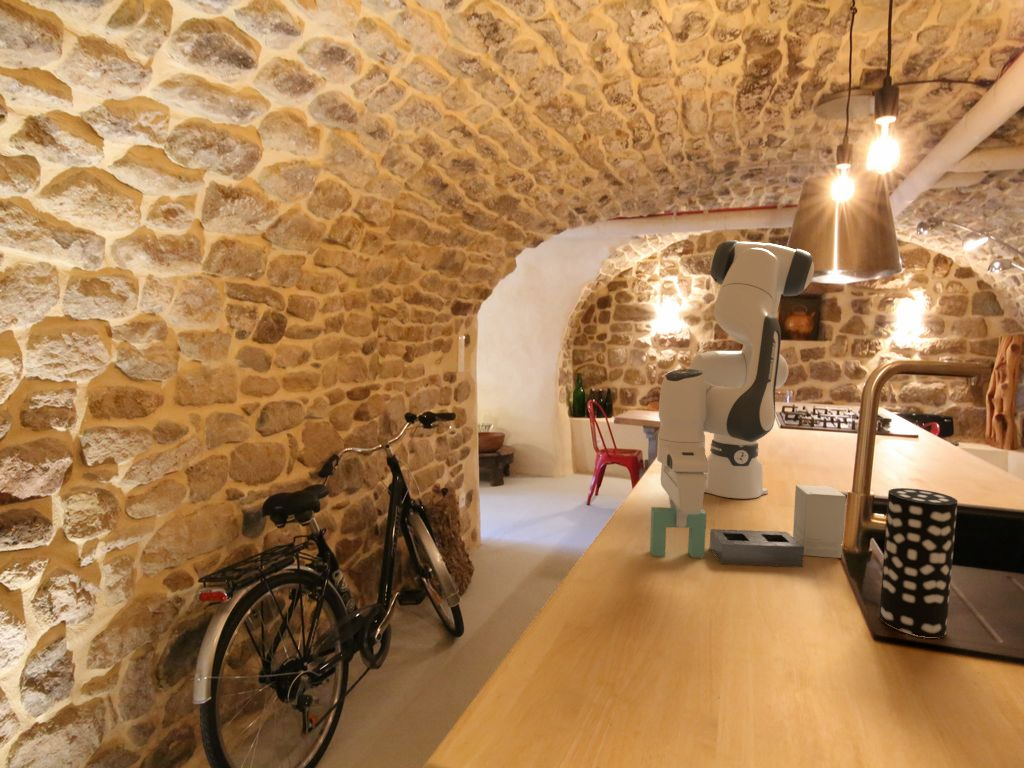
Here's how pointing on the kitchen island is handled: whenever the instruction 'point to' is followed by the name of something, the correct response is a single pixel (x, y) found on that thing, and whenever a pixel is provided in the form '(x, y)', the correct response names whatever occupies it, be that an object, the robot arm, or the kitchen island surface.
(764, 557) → the gray socket base
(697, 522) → the green u-shaped block
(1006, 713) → the kitchen island surface
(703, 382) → the robot arm
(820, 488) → the supplement box
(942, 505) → the white-spotted black cylinder
